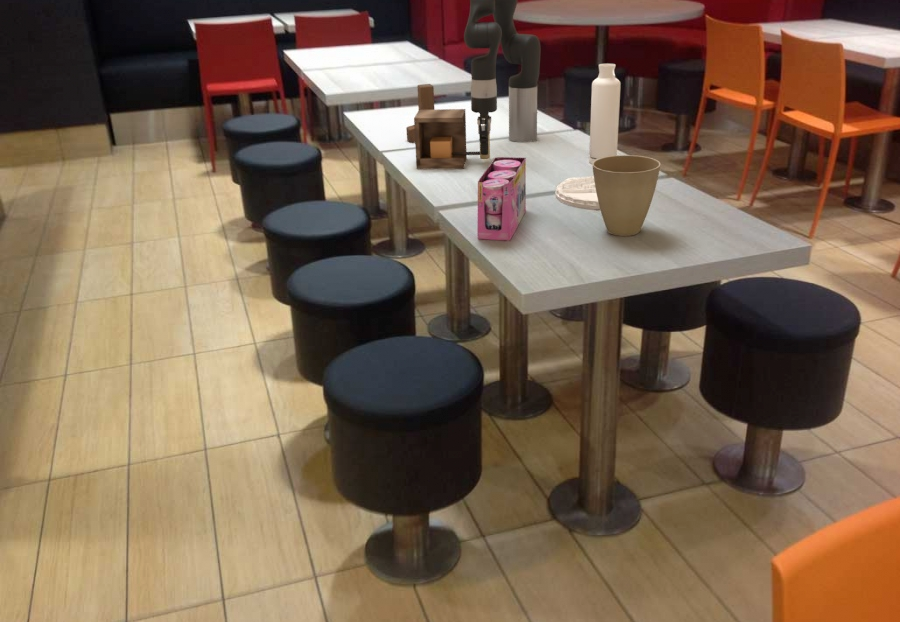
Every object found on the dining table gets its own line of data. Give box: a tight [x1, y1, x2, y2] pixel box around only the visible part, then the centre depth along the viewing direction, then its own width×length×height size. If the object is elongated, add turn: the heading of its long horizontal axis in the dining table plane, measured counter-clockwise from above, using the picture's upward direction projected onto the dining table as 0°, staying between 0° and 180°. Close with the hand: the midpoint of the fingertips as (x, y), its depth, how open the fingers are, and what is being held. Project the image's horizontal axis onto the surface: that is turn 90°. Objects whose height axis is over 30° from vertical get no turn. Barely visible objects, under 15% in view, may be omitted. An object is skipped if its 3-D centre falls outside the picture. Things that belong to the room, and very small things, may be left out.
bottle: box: [588, 63, 622, 165], centre depth 242 cm, size 8×8×28 cm
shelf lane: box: [413, 108, 468, 170], centre depth 249 cm, size 14×12×15 cm
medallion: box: [554, 175, 601, 211], centre depth 219 cm, size 24×27×2 cm
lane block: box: [430, 133, 491, 160], centre depth 249 cm, size 18×6×9 cm, turn 85°
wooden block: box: [405, 83, 435, 144], centre depth 277 cm, size 9×4×18 cm, turn 106°
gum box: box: [476, 156, 527, 241], centre depth 196 cm, size 24×8×14 cm, turn 166°
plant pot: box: [591, 154, 661, 237], centre depth 189 cm, size 15×15×16 cm
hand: (484, 152), depth 250 cm, fingers closed on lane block, 3 cm apart
